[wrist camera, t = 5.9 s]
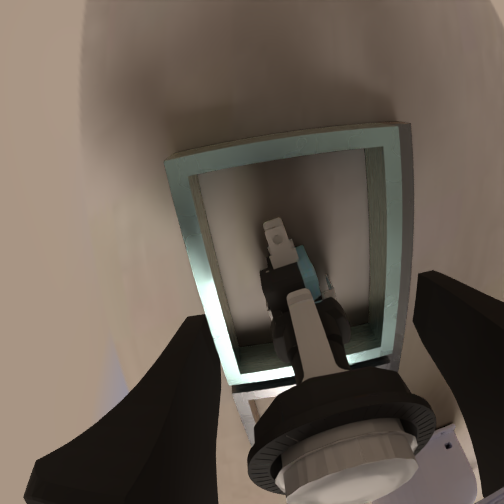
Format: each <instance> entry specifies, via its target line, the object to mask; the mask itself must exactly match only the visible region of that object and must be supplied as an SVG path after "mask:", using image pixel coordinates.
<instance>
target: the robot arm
mask: <svg viewBox="0 0 504 504" xmlns="http://www.w3.org/2000/svg"><path fill="white" fill-rule="evenodd" d="M413 323H414V325H415V327H416V330H417V332H418V334H419V336H420V338H421V340H422V343H423V345H424V346H425V348H426V349H427V351H428V353H429V354H430V356H431V358H432V359H433V361H434V362H435V364H436V366H437V367H438V369H439V370H440V372H441V374H442V375H443V377H444V379H445V380H446V382H447V384H448V385H449V387H450V389H451V390H452V392H453V394H454V396H455V398H456V400H457V403H458V405H459V408H460V410H461V412H462V415H463V417H464V420H465V423H466V426H467V429H468V432H469V435H470V438H471V441H472V444H473V448H474V452H475V456H476V459H477V464H478V469H479V474H480V480H481V487H482V494H483V497H484V499H482V500H480V501H479V502H477V503H475V504H504V302H502V301H500V300H497V299H495V298H493V297H491V296H488V295H486V294H484V293H482V292H480V291H478V290H476V289H474V288H472V287H469V286H467V285H465V284H463V283H461V282H459V281H457V280H455V279H453V278H451V277H448V276H446V275H444V274H442V273H439V272H436V271H434V270H432V271H428V272H423V273H419V274H418V282H417V291H416V300H415V308H414V315H413ZM220 394H221V367H220V357H219V354H218V351H217V348H216V345H215V342H214V339H213V336H212V333H211V330H210V327H209V324H208V321H207V317H206V314H203V315H196V316H189V317H187V318H186V319H185V321H184V322H183V323H182V325H181V326H180V328H179V329H178V331H177V332H176V334H175V335H174V337H173V338H172V339H171V341H170V342H169V344H168V345H167V347H166V348H165V349H164V351H163V352H162V354H161V355H160V356H159V358H158V359H157V360H156V362H155V363H154V364H153V366H152V367H151V368H150V369H149V371H148V372H147V373H146V374H145V376H144V377H143V378H142V379H141V380H140V382H139V383H138V384H137V385H136V386H135V387H134V388H133V389H132V390H131V391H130V392H129V394H128V395H127V396H126V397H125V398H124V399H123V400H122V401H121V402H120V403H119V404H117V405H116V406H115V407H114V408H113V409H112V410H111V411H109V412H108V413H107V414H106V415H105V416H104V417H102V419H100V420H99V421H98V422H97V423H95V424H94V425H93V426H92V427H90V428H89V429H87V430H86V431H85V432H83V433H82V434H81V435H79V436H78V437H76V438H75V439H73V440H72V441H70V442H69V443H67V444H65V445H64V446H62V447H60V448H59V449H57V450H55V451H53V452H51V453H50V454H48V455H46V456H44V457H42V458H40V459H38V460H36V462H35V465H34V468H33V470H32V473H31V476H30V479H29V482H28V485H27V488H26V491H25V494H24V499H25V501H26V503H27V504H218V491H217V474H216V438H217V427H218V416H219V405H220ZM455 427H456V426H455V424H450V425H448V426H446V427H443V428H441V429H438V430H436V431H434V433H433V435H432V437H431V439H430V440H429V442H428V443H427V444H426V445H425V447H424V448H423V449H422V450H421V451H420V452H419V453H418V454H417V455H416V456H415V459H416V461H417V464H418V466H419V468H418V469H417V471H416V472H415V473H414V475H413V476H412V478H411V479H410V480H409V481H407V482H406V483H404V484H403V485H402V486H400V487H399V488H397V489H396V490H395V491H393V492H391V493H389V494H387V495H385V496H383V497H380V498H378V499H376V500H374V501H372V504H473V503H474V501H475V499H476V496H477V483H476V478H475V475H474V472H473V470H472V468H471V466H470V463H469V461H468V459H467V457H466V455H465V453H464V451H463V449H462V447H461V445H460V443H459V441H458V439H457V437H456V435H455V433H454V429H455Z"/></svg>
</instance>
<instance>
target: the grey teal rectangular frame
mask: <svg viewBox="0 0 504 504" xmlns="http://www.w3.org/2000/svg"><path fill="white" fill-rule="evenodd" d="M360 148H364V149H365V160H366V173H367V187H368V206H369V234H370V293H369V321H368V323H366V324H362V325H357V326H353V327H351V338H350V342H349V343H347V344H344V348H345V352H346V357H347V360H348V363H349V365H350V368H351V370H353V369H358V368H363V367H367V366H372V367H377V368H382V369H388V370H393V371H396V372H397V373H398V369H399V363H400V358H401V352H402V346H403V339H404V332H405V325H406V318H407V310H408V301H409V292H410V281H411V268H412V253H413V231H414V170H413V148H412V134H411V123H405V122H399V121H393V122H376V123H363V124H351V125H340V126H331V127H322V128H313V129H305V130H298V131H290V132H283V133H277V134H270V135H264V136H258V137H252V138H246V139H240V140H235V141H230V142H224V143H219V144H214V145H209V146H205V147H200V148H195V149H191V150H186V151H182V152H178V153H174V154H173V155H171V156H170V157H169V158H167V159H166V160H165V161H164V165H165V170H166V174H167V178H168V182H169V186H170V190H171V194H172V198H173V202H174V206H175V209H176V213H177V217H178V221H179V225H180V228H181V232H182V236H183V239H184V243H185V247H186V250H187V254H188V257H189V261H190V264H191V268H192V271H193V275H194V278H195V281H196V285H197V288H198V292H199V295H200V298H201V301H202V305H203V308H204V311H205V314H206V317H207V321H208V324H209V327H210V330H211V333H212V336H213V339H214V342H215V345H216V348H217V351H218V354H219V357H220V361H221V364H222V367H223V369H224V372H225V375H226V378H227V381H228V384H229V385H232V395H233V398H234V401H235V404H236V406H237V409H238V412H239V415H240V417H241V420H242V423H243V426H244V428H245V431H246V433H247V436H248V439H249V441H250V444H251V447H252V446H253V445H254V444H255V442H254V426H255V424H256V423H257V422H258V420H259V419H260V418H259V414H258V411H257V408H256V404H255V401H254V399H261V398H268V397H274V396H278V395H279V394H280V393H282V392H284V391H286V390H288V389H290V388H291V387H293V386H295V385H296V380H295V375H294V371H293V369H292V366H291V364H290V362H289V363H284V362H283V361H282V360H281V359H280V358H279V357H278V356H277V354H276V352H275V350H274V345H273V342H271V343H265V344H259V345H252V346H246V347H239V343H238V340H237V336H236V332H235V329H234V325H233V321H232V317H231V313H230V310H229V306H228V302H227V298H226V294H225V290H224V286H223V282H222V278H221V274H220V270H219V266H218V262H217V258H216V254H215V250H214V246H213V242H212V238H211V234H210V230H209V225H208V221H207V217H206V213H205V208H204V204H203V200H202V195H201V191H200V187H199V182H198V178H197V174H201V173H206V172H211V171H216V170H221V169H226V168H231V167H237V166H242V165H248V164H253V163H259V162H265V161H271V160H277V159H284V158H290V157H297V156H304V155H311V154H318V153H326V152H334V151H342V150H351V149H360Z"/></svg>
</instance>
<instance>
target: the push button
mask: <svg viewBox="0 0 504 504" xmlns="http://www.w3.org/2000/svg"><path fill="white" fill-rule="evenodd" d="M274 226H277V227H274ZM263 227H264V229H265V236H266V239H267V241H268V244H269V246H268V247H267V248H268V251H269V253H270V256H269V257H266V258H267V263H268V268H267V269H264V270H261V271H260V277H261V285H262V290H263V293H264V295H265V298H266V305H267V309H268V310H267V311H268V313H269V316H270V318H271V321H272V322H271V331H272V338H273V345H274V350H275V352H276V354H277V356H278V357H279V358H280V359H281V360H282V361H283V362H284V363H289V362H290V364H291V366H292V369H293V371H294V375H295V380H296V385H295V386H293V387H291V388H290V389H288V390H286V391H284V392H282V393H280V394H279V395H278V396H277V397H276V398H275V399H274V401H273V402H272V403H271V405H270V406H269V407H268V409H267V410H266V411H265V413H264V414H263V415H262V417H261V418H260V419H259V420H258V422H257V423H256V424H255V426H254V442H255V444H254V445H253V446H252V448H251V449H250V451H249V454H248V458H247V463H248V475H249V477H250V479H251V480H252V481H253V482H254V483H255V484H256V485H257V486H259V487H261V488H262V489H265V490H267V491H270V492H273V493H277V494H283V495H286V502H287V504H365V503H369V502H372V501H374V500H376V499H378V498H380V497H383V496H385V495H387V494H389V493H391V492H393V491H395V490H396V489H397V488H399V487H400V486H402V485H403V484H404V483H406V482H407V481H409V480H410V479H411V478H412V476H413V475H414V473H415V472H416V471H417V469H418V468H419V466H418V464H417V461H416V459H415V456H416V455H417V454H418V453H419V452H420V451H421V450H422V449H423V448H424V447H425V445H426V444H427V443H428V442H429V440H430V439H431V437H432V435H433V433H434V431H435V428H436V417H435V414H434V412H433V410H432V408H431V406H430V405H429V403H428V402H427V401H426V400H425V399H423V398H422V397H420V396H417V395H415V394H412V393H411V392H410V390H409V389H408V387H407V386H406V384H405V383H404V381H403V380H402V378H401V377H400V375H399V374H398V373H397V372H396V371H393V370H388V369H382V368H377V367H372V366H367V367H363V368H358V369H353V370H351V368H350V365H349V363H348V360H347V357H346V352H345V348H344V344H347V343H349V342H350V338H351V327H350V324H349V322H348V319H347V317H346V315H345V313H344V311H343V309H342V307H341V305H340V304H339V303H338V301H337V299H336V295H335V291H334V288H333V286H332V283H331V281H330V279H329V277H328V275H327V274H325V276H326V280H327V284H328V288H329V290H327V291H324V292H322V295H321V292H320V288H319V286H320V285H319V282H318V278H317V275H316V272H315V269H314V267H313V265H312V263H311V262H310V260H309V258H308V255H307V253H306V251H305V249H304V246H303V245H301V246H298V247H294V244H293V241H292V239H288V236H287V233H286V231H285V228H284V225H283V222H282V220H281V218H279V217H278V218H275V219H272V220H269V221H266V222H264V223H263ZM272 227H274V228H272ZM322 297H323V299H322Z"/></svg>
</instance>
